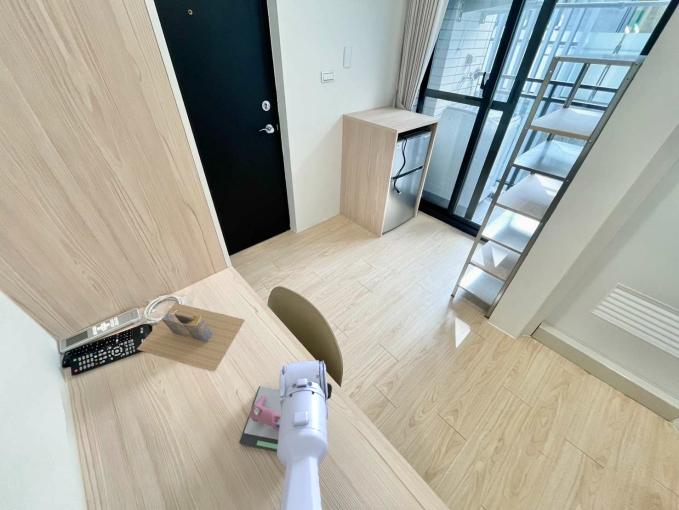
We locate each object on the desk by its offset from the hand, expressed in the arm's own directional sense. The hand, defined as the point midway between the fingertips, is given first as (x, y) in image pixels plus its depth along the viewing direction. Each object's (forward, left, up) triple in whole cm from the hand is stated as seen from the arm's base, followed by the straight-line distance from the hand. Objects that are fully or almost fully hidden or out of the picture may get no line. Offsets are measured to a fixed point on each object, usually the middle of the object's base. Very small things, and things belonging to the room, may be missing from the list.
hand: (314, 426), depth 54 cm
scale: (+2, +10, -9) cm, 14 cm away
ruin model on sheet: (+20, +42, -10) cm, 47 cm away
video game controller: (+2, +10, -7) cm, 12 cm away
